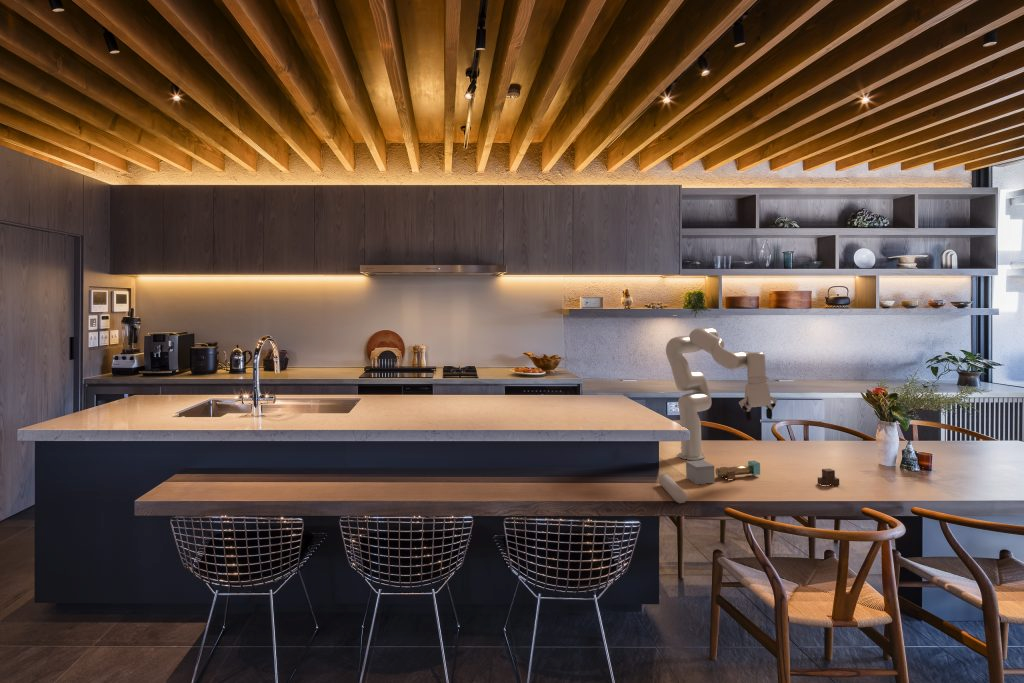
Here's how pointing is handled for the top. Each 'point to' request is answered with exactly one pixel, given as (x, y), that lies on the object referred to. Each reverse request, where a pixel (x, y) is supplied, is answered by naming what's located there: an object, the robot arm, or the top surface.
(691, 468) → the socket block
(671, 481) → the tube
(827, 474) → the wooden blocks
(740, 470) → the bronze piece
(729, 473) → the guide block
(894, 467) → the top surface
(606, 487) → the top surface
